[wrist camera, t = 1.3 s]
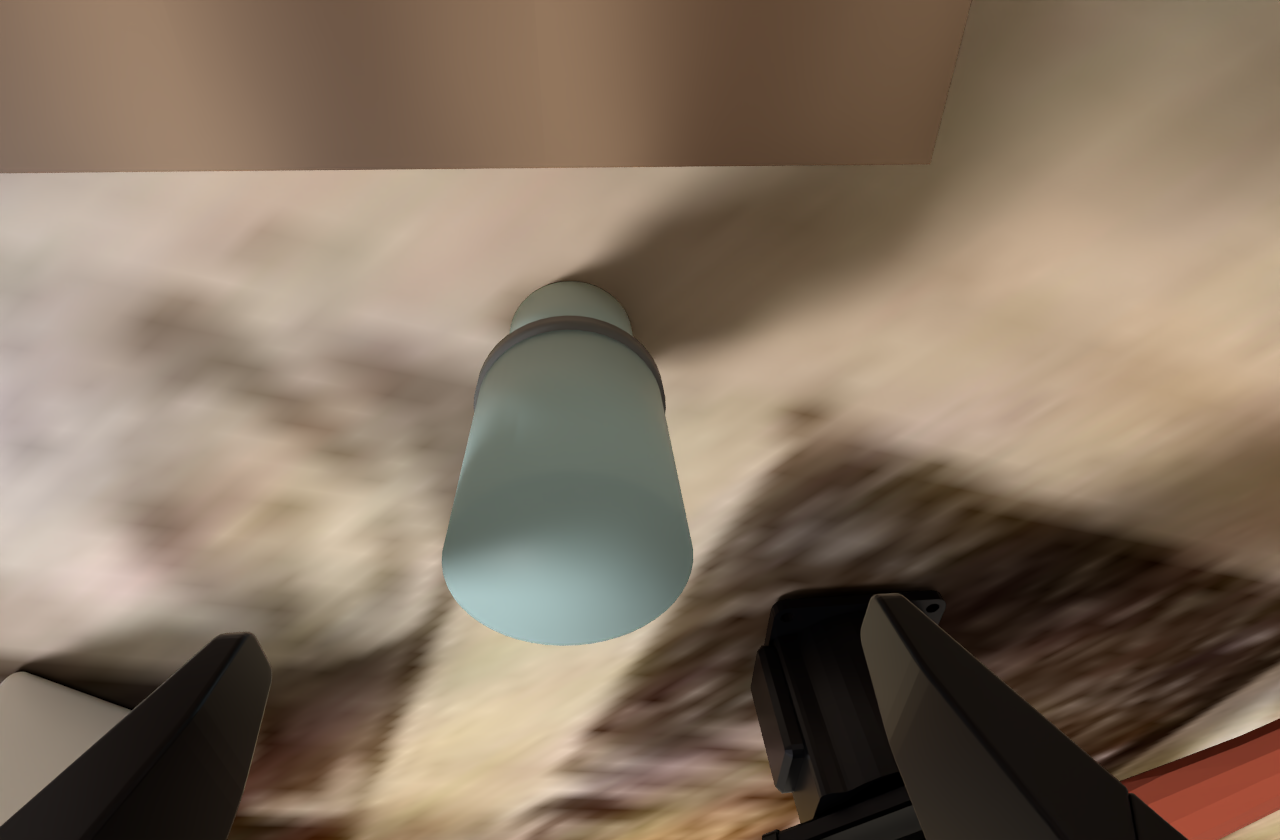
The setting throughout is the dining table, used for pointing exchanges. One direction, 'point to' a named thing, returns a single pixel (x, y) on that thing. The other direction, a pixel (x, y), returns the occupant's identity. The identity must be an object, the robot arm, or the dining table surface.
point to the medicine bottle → (44, 734)
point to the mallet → (1216, 785)
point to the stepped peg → (568, 480)
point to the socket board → (471, 83)
